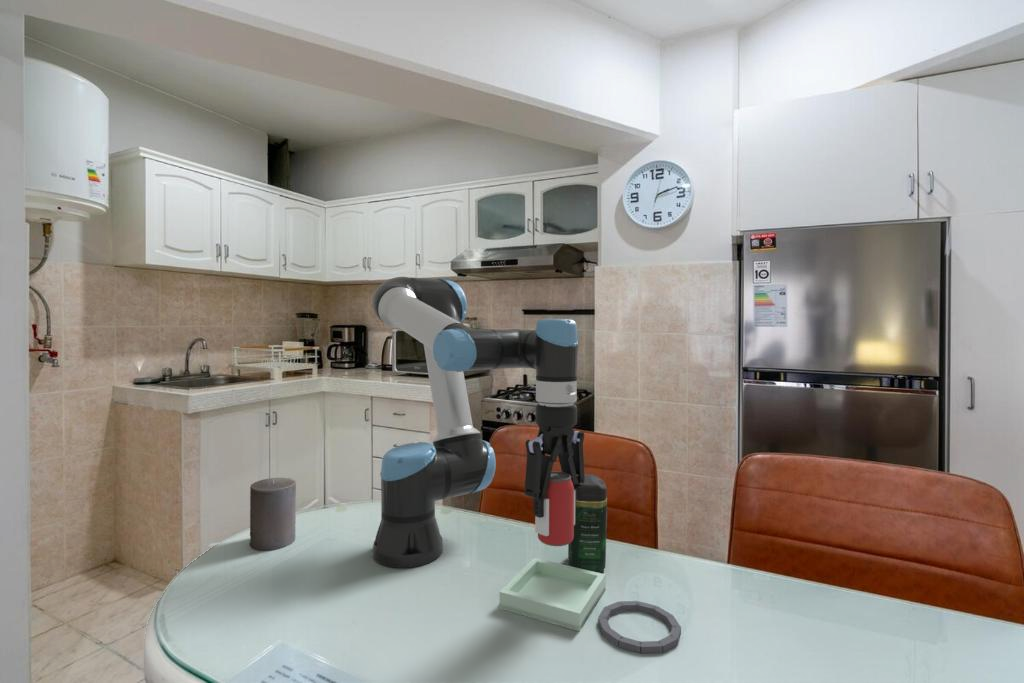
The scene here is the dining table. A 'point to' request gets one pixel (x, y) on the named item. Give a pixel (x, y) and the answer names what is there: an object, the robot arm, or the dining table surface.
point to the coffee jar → (590, 526)
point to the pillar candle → (272, 513)
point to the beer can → (560, 510)
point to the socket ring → (634, 644)
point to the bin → (554, 593)
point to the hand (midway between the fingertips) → (555, 528)
